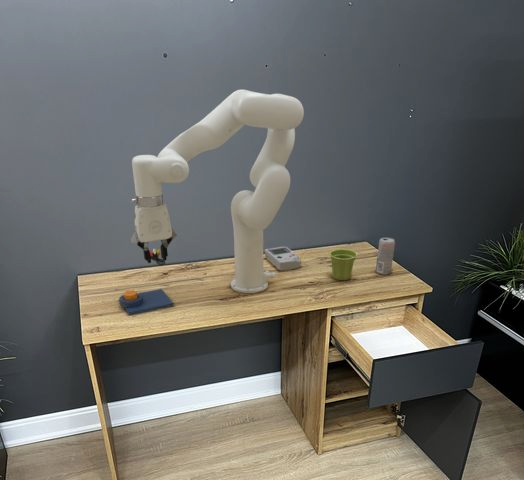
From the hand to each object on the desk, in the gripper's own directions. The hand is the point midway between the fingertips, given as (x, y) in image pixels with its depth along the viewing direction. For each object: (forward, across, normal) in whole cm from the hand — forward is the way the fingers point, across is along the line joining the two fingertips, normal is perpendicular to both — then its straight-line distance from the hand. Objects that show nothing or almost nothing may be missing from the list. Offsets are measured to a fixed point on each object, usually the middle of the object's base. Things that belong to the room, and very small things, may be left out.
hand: (156, 259), depth 158 cm
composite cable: (0, 0, 0) cm, 0 cm away
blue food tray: (+14, -5, 0) cm, 15 cm away
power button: (+11, -9, 0) cm, 15 cm away
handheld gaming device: (+14, +50, +10) cm, 53 cm away
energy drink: (+13, +78, -14) cm, 81 cm away
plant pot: (+14, +62, -11) cm, 65 cm away
